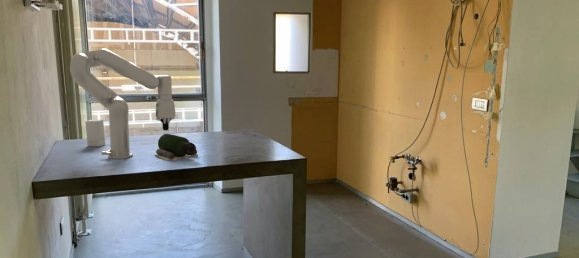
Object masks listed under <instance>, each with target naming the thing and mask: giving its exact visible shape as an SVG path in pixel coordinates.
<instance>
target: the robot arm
mask: <svg viewBox="0 0 579 258" xmlns="http://www.w3.org/2000/svg"><path fill="white" fill-rule="evenodd" d="M101 66H103V67H104V68H107V69H109V70H111V71H112V72H114V73H117V74H118V75H120V76H122V77H125V78H126V79H130V80H132V81H133V82H136V83H138V84H139V85H142V86H143V87H145V88H147V89H149V90H155V89H157V95H156V96H155V98H156V99H157V100H156V101H155V102H156V103H155V104H156V105H155V117H156V119H155V120H156V121H159V122H161V125H162V130H163V131H169V129H170V122H171V121H172V120H175V117H176V105H175V102H174V99H173V93H172V92H173V89H172V87H173V86H172V81H173V80H172V76H171V75H170V74H169V75H167V74H160V75H156V74H153V73H150V72H148V71H147V70H145V69H143V68H141V67H140V66H138V65H136V64H134V63H133V62H132V61H129V60H127V59H126V58H124V57H123V56H120V55H119V54H117V53H115V52H113V51H111V50H109V49H107V48H99V49H95V50H89V51H84V52H80V53H79V52H77V53H75V54H73V56H72V57H71V59H70V63H69V71H70V75H71V77H72V79H73V81H74V82H75V83H76V84H77V85H78V86H80V87H81V88H82V89H83V90H84V91H85V92H87V94H89V95H90V96H91V97H92V98H93V99H94V100H95V101H97V102H98V103H99V104H100V105H101V106H102V107H104V108H106V110H108V118H109V119H108V121H109V123H108V125H109V141H110V148H108V149H107V150H102V151H101V155H102V156H105V155H106V156H107V158H109V159H113V160H114V159H115V160H117V159H118V160H120V159H121V160H123V159H128V158H131V157H133V156H134V154H133V152H130V151H131V150H130V132H129V131H130V129H129V128H130V127H129V126H130V125H129V104H128V102H127V101H126V100H125V99H124V98H122V97H121V96H120V95H119V94H118V93H116V92H115V91H114V90H113V89H112V88H110V87H109V86H108V85H107V84H105V83H103V82H102V81H100V79H98V78H97V77H96V76H95V75H94V74H93V73H91V71H90V69H92V68H97V67H101Z"/></svg>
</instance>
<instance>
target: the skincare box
mask: <svg viewBox="0 0 579 258" xmlns="http://www.w3.org/2000/svg"><path fill="white" fill-rule="evenodd" d="M84 122H85V131H86V144H87V147H97V148H98V147H99V148H100V147H104V146H105V145H106V137H105V135H106V134H105V127H104V125H105V124H104V119H89V120H85V121H84Z"/></svg>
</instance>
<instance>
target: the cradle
mask: <svg viewBox="0 0 579 258" xmlns="http://www.w3.org/2000/svg"><path fill="white" fill-rule="evenodd" d="M155 153H156V154H155V155H154V156H155V157H156V158H159V159H162V160H165V161H167V162H171V161H176V160H182V159H188V158H194V157H199V153H198V150H197V149H196V152H195V153H194V154H193V155H185V156H176V155H175V154H174V153H171V152H168V151H165V150H162V149H159V148H158V149H156V150H155Z"/></svg>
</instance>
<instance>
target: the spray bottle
mask: <svg viewBox="0 0 579 258" xmlns="http://www.w3.org/2000/svg"><path fill="white" fill-rule="evenodd" d="M157 147H158V149H162V150H165V151H168V152H171V153H174V154H175V155H176V156H185V155H193V154H194V153H195V152H196V150H197V146H196V145H195V144H194V143H193V142H192V141H191V142H190V141H189V139H188V138H187V137H184V136H179V135H175V134H172V133H171V134H170V133H163V134H162V135H161V136H160V137H159V139H158V141H157Z"/></svg>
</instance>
